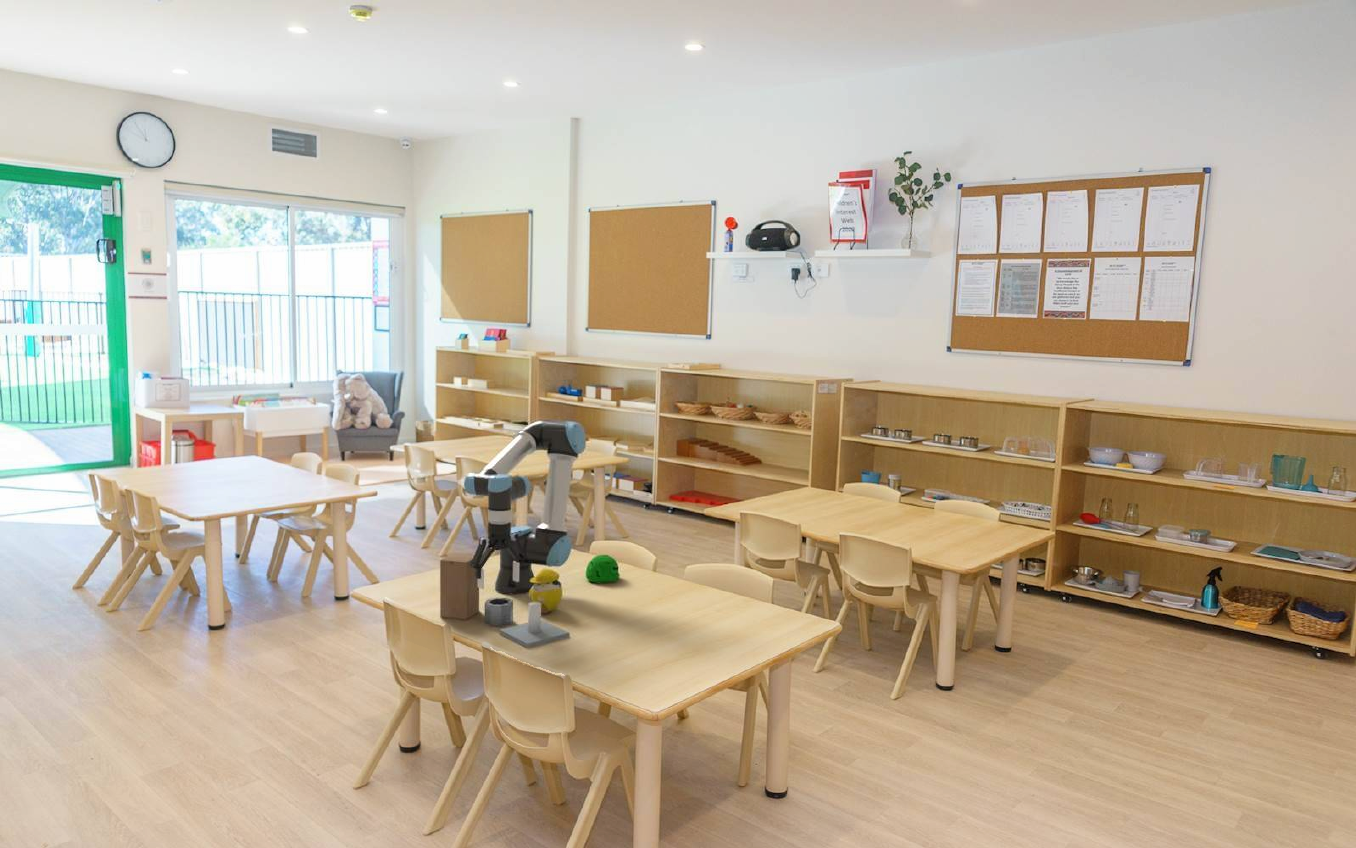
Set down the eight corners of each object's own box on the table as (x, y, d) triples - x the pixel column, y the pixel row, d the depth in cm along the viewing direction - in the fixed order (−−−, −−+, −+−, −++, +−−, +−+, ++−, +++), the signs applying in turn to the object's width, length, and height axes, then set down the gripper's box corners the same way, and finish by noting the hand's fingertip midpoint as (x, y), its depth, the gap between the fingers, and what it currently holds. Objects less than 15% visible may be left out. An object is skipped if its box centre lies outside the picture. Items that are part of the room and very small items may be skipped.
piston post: (540, 623, 305) (541, 593, 303) (569, 637, 293) (569, 605, 292) (499, 634, 294) (499, 602, 292) (527, 648, 282) (528, 615, 281)
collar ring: (502, 616, 311) (503, 596, 310) (517, 622, 305) (517, 602, 304) (480, 621, 305) (480, 601, 304) (494, 628, 299) (494, 607, 298)
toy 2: (618, 585, 350) (618, 560, 349) (583, 584, 350) (584, 559, 349) (620, 575, 364) (621, 551, 362) (587, 574, 364) (588, 550, 362)
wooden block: (467, 620, 306) (467, 562, 303) (439, 617, 308) (439, 559, 305) (479, 611, 316) (479, 554, 313) (452, 608, 318) (452, 552, 315)
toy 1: (522, 609, 319) (522, 567, 317) (545, 603, 326) (546, 562, 324) (545, 618, 310) (546, 575, 308) (569, 612, 317) (569, 570, 316)
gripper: (524, 515, 312) (523, 575, 314) (460, 524, 295) (459, 588, 297) (537, 519, 307) (536, 580, 309) (472, 528, 290) (471, 593, 292)
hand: (498, 584), depth 303 cm, fingers open, 13 cm apart
